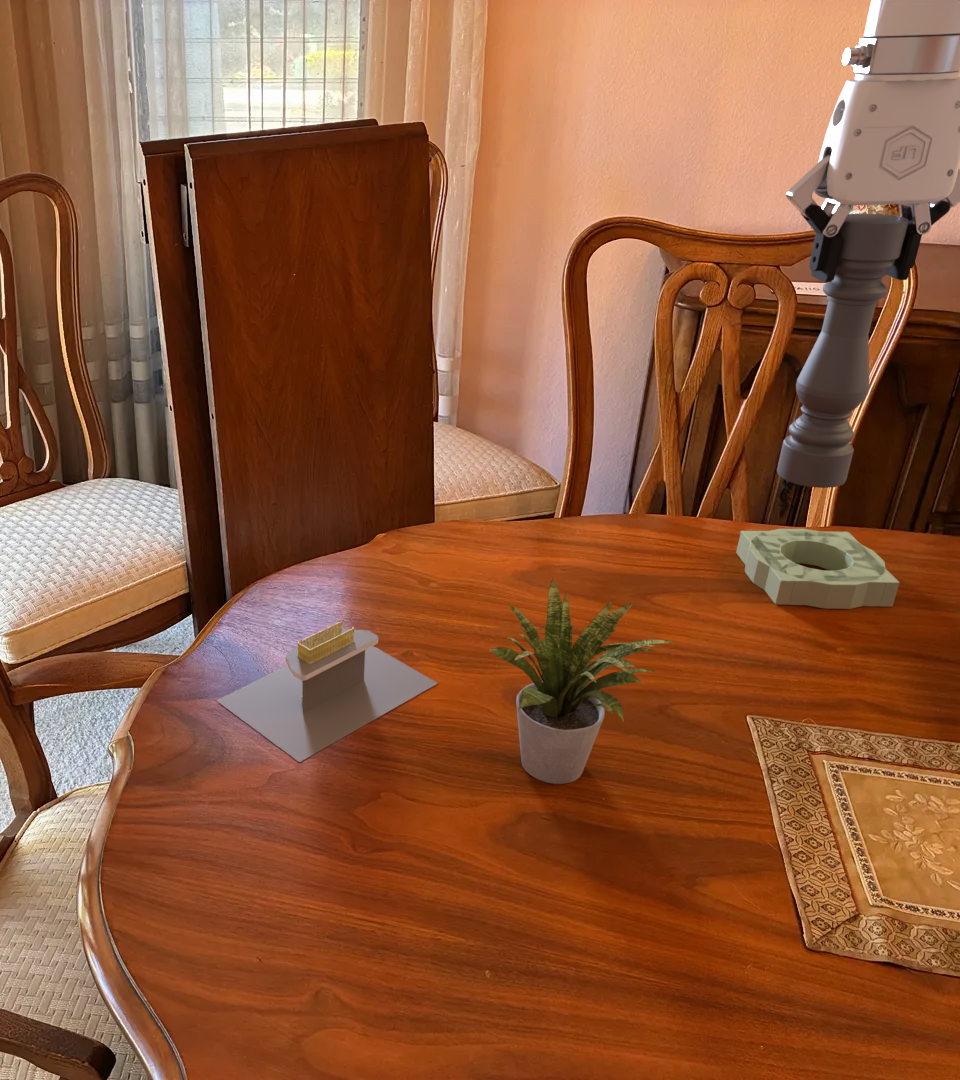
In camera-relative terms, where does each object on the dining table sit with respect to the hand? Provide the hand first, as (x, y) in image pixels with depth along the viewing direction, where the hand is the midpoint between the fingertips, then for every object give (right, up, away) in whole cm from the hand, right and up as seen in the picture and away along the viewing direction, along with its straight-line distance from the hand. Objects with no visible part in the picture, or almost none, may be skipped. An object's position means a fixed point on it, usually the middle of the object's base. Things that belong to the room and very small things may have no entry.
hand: (858, 275), depth 92 cm
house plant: (-30, -44, -7) cm, 54 cm away
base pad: (+7, -29, +21) cm, 36 cm away
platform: (-48, -39, +4) cm, 62 cm away
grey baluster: (+1, -18, +9) cm, 20 cm away
